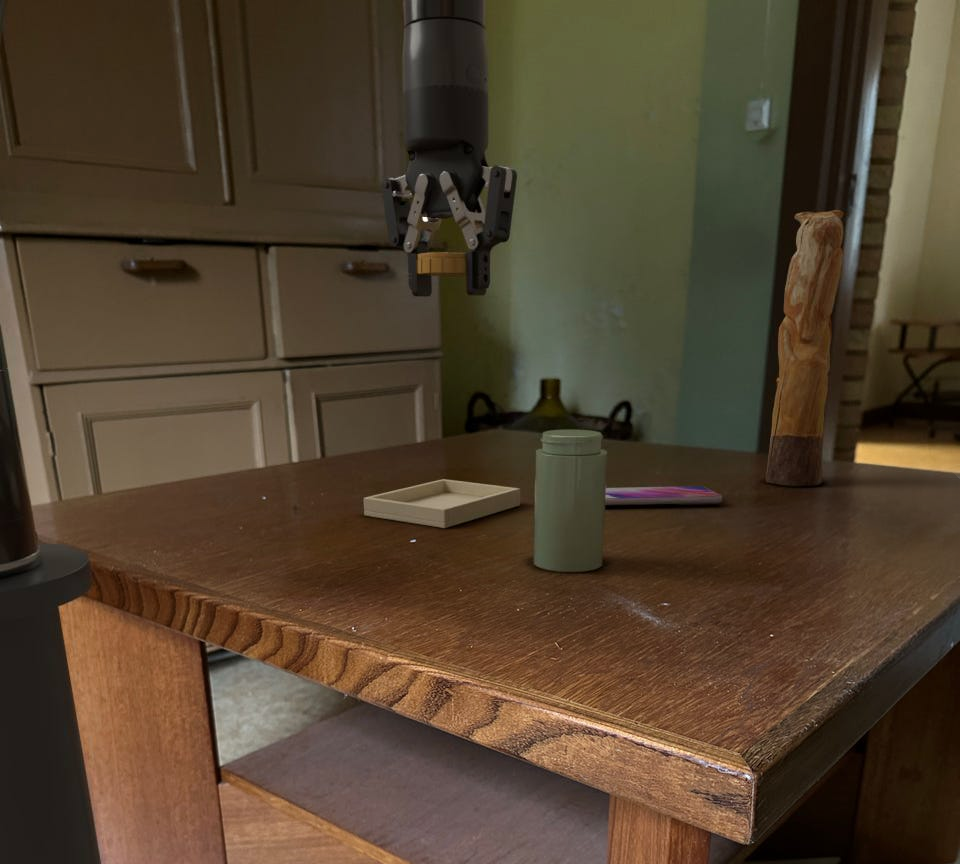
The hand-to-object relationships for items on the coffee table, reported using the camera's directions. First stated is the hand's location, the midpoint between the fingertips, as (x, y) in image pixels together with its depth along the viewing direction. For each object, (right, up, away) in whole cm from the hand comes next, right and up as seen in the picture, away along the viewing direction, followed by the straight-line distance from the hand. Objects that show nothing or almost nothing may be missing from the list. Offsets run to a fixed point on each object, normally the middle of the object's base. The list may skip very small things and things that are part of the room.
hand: (448, 295), depth 86 cm
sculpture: (+41, -13, +25) cm, 49 cm away
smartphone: (+21, -17, +13) cm, 30 cm away
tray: (-1, -19, +8) cm, 21 cm away
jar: (+10, -26, -11) cm, 30 cm away
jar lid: (0, +3, -1) cm, 3 cm away
